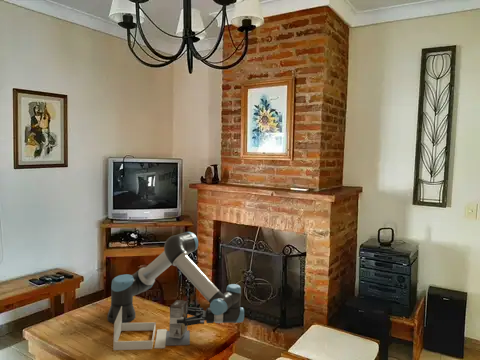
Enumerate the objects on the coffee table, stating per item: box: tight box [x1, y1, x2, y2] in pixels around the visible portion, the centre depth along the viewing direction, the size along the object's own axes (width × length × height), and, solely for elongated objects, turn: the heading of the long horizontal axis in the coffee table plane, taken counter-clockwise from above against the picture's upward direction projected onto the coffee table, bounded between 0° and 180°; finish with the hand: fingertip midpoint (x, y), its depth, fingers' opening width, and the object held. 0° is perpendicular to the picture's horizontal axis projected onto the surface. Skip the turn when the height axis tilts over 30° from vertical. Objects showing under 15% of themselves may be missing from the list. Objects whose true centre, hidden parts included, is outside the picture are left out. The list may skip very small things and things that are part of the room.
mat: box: [165, 330, 191, 347], centre depth 191 cm, size 14×12×1 cm
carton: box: [112, 306, 168, 351], centre depth 188 cm, size 20×24×13 cm
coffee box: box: [168, 299, 189, 339], centre depth 190 cm, size 9×6×16 cm
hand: (170, 316), depth 190 cm, fingers closed on coffee box, 10 cm apart
